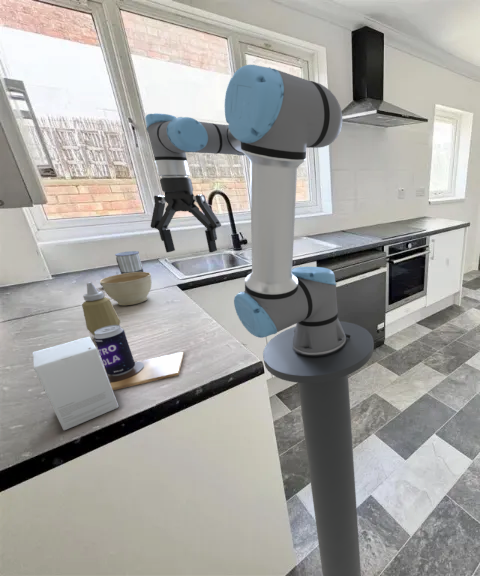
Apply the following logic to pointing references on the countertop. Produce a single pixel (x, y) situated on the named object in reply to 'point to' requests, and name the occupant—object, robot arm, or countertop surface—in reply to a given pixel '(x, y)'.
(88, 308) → the squeeze bottle
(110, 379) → the board
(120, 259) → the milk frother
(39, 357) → the rectangular carton
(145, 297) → the planter bowl
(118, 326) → the beverage can
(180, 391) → the countertop surface
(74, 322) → the countertop surface
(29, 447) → the countertop surface
